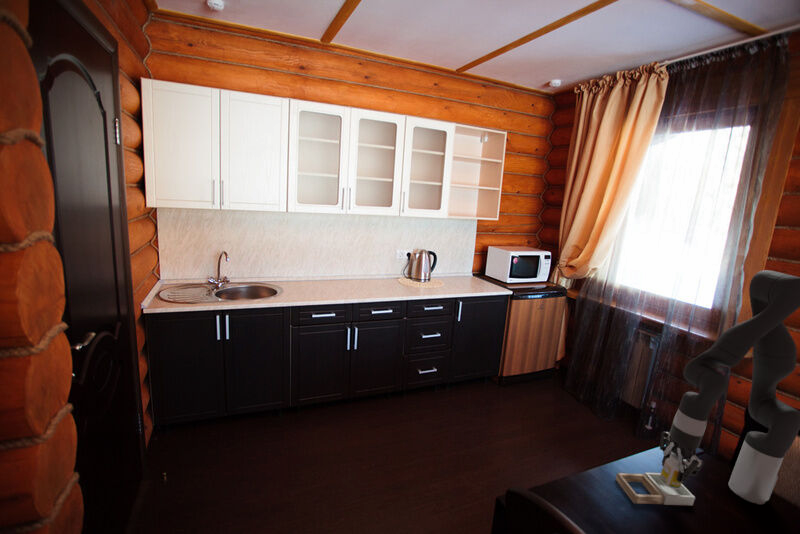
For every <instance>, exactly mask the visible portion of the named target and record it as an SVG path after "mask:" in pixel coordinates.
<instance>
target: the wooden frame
mask: <svg viewBox="0 0 800 534" xmlns="http://www.w3.org/2000/svg"><path fill="white" fill-rule="evenodd" d="M644 474H645V473H631V472H630V473H629V472H626V473H624V472H617V473H616V476H615V481H616V482H617V483H618V485H619V486H620V487H621V488H622V490H623V491H624V492H625V493H626V495H627V496H628V497H629V498H630V500H631V501H632V503H633V504H648V505H663V500H664V496H663V495H662V494H661V493H660V492H659V491H658V490H657V488H656V487H655V486H654V485H653V484H652V483H651V482H650V481H649V479H648V478H647V477H646V476H645V475H644ZM629 483H641V485H643V486H644V488H645V489H646V490H647V491H648V492H649V494H640V493H639V494H638V493H636V491H635V490H634V489H633V488H632V486H631V485H630V484H629Z"/></svg>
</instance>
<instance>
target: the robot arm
mask: <svg viewBox="0 0 800 534" xmlns="http://www.w3.org/2000/svg"><path fill="white" fill-rule="evenodd" d="M748 291H749V293H748V295H749V301H750V303H749V304H750V308H751V315H752V317H750V318H749V319H747V320H745V321H744V320H743V321H742V322H740V323H738V324H734V325H733V326H732V327H729V328H728V329H726V330H725V331H724V332H723V333H722V334H721V335H720V336H719V337H718V338H717V339H716V341H715V342H714V343H713V345H711V347H710V348H708V349H707V350H706V351H703V352H702V353H701V354H699V355H698V356H696V357H695V358H692V359H691V360H690V361H689V362H687V364H686V365H685V367H684V368H683V372H682V373H683V378H684V379H685V381H687V382H688V383H689V384H691V385H693V386H694V387H696V388H697V389H699V393H698V392H695V391H687V392H685V393H683V395H682V397H681V400H680V403H679V406H678V409H677V411H676V413H675V416H674V418H673V421H672V424H671V428H670V430H669V431H661V435H660V442H659V450H660V451H662V453H663V457H662V461H661V466H662V467H663V466H664V463H665V460H666V459H667V458H670V455H671V453H674V454H676V455H677V456H678V462H679V463H680V470H679V473H678V476H677V479H676V480H677V481H678V482H682V483H686V482H687V481H688V477H689V476H691V477H692V476H694V477H697V476H698V474H699V472H700V471H701V469H702V467H703V466H704V465H705V462H704V461H703V460H702V459H699V458H698V456H697V449H698V448H699V447H700V445H701V443H702V440H703V437H704V434H705V431H706V429H707V425H708V424H707V422H708V419H709V416H710V413H711V410H712V408H713V407H714V406H715V405H716V403H718V401H719V399H721V397H722V396H723V395H724V394H725V393H726V391H727V389H728V386H729V384H728V379H727V377H726V376H725V375H724V373H721V372H720V371H718V370H716V369H715V368H716V367H718V366H723V367H728V368H734V367H735V368H736V366H737V365H738V364H739V363H740V362H741V361H742V360H743V359H744V357H745V356H747V354H748V353H749V352H750V350H751V349H752V377H751V389H750V393H749V400H748V413H749V415H750V417H751V418H752V419H753V420H754V421H755V422H757V423H758V424H760V425H761V426H763V427H765V428H766V429H768V431H767V433H765V432H762V431H756V430H754V431H753V430H751V431H748V432H747V433H746V436H745V438H744V440H743V443H742V446H741V449H740V451H739V454H738V457H737V459H736V461H735V465H734V467H733V469H732V472H731V475H730V477H729V478H730V479H729V481H728V482H727V483H728V485H727V486H729V488H730V490H731V491H732V492H733V493H734V494H736V495H737V496H738V497H740V498H741V499H743V500H746V501H747V502H750V503H753V504H755V503H756V505H764V504H766V502H769V500H770V498H771V495H772V493H773V491H774V488H775V485H776V484H777V481H778V478H779V476H778V473H779V470H780V468H781V466H782V463H783V460H784V458H785V455H786V453H787V452H789V450H790V449H791V447H792V446H793V444H794V441H795V440H796V438H797V436H798V434H799V431H800V411H799V410H798V409H796V408H794V407H793V406H791V405H789V404H787V403H785V402H783V401H781V400H780V399H778V398H777V395H776V392H777V391H776V390H777V385H778V384H779V383H780V382H782V381H783V380H785V379H786V378H787V377H789V376H790V375H791V374H792V373H793V372H794V371H795V369H796V366H797V354H798V353H797V350H798V349H797V345H796V343H795V339H794V338H793V336H792V334H791V333H790V331H789V330H788V328H787V327H786V325H785V323H784V321H785V320H787V318H789V317H790V316H792V314H794V313H795V312H796V311H798V310H799V309H800V276H796V275H792V274H788V273H783V272H779V271H775V270H769V269H768V270H767V269H766V270H765V269H764V270H760V271H758V272H757V273H755V274H754V276H752V278H751V280H750V283H749V289H748ZM683 460H686V461H683ZM685 467H686V468H685Z"/></svg>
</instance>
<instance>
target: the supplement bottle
mask: <svg viewBox="0 0 800 534" xmlns="http://www.w3.org/2000/svg"><path fill="white" fill-rule="evenodd" d="M683 461H687V460H683ZM685 468H686V466H685ZM679 470H680V463H679V462H678V456H677V455H676V454H674V453H671V455H670V458H667V459H666V460H665V463H664V466H662V469H661V472H660V473H661V475H660V480H661V482H662V483H663V484H665V485H666V486H668V487H670V488H673V489H679V488H680V486H681V483H682V484H683V482H678V481H677V480H676V479H677V476H678V473H679Z"/></svg>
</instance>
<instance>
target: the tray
mask: <svg viewBox="0 0 800 534" xmlns="http://www.w3.org/2000/svg"><path fill="white" fill-rule="evenodd" d="M643 474H644V475H645V476H646V477H647V478H648V479H649V481H650V482H651V483H652V484H653V485H654V486H655V487H656V488H657V490H658V491H659V492H660V493H661V494H662V495H663V496H664V500H663V503H662V505H665V506H670V505H671V506H693V505H694V502H695V500H696V496H695V495H693V494H692V492H690V490H689V489H688V488H687V487H686V486H685V485H684V484H683V482H682V483H681V486H680V488H679V489H673V488H670V487H668V486H666V485H665V484H663V483H662V482H661V480H660V475H661V472H644V473H643Z"/></svg>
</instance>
